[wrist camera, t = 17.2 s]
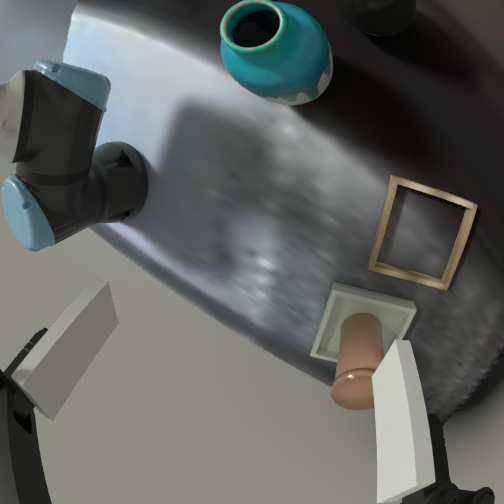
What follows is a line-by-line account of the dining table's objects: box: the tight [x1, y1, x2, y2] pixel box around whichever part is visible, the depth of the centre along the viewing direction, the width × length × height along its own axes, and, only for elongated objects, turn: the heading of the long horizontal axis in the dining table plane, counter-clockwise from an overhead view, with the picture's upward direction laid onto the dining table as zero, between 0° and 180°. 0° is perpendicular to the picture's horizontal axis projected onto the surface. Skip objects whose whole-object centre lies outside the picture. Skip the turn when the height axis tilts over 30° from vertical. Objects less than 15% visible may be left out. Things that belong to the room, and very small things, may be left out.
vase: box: [220, 0, 333, 105], centre depth 24 cm, size 11×11×19 cm
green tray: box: [310, 282, 417, 362], centre depth 43 cm, size 14×14×2 cm
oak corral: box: [367, 175, 478, 290], centre depth 35 cm, size 14×14×2 cm
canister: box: [331, 313, 384, 410], centre depth 38 cm, size 8×8×14 cm
